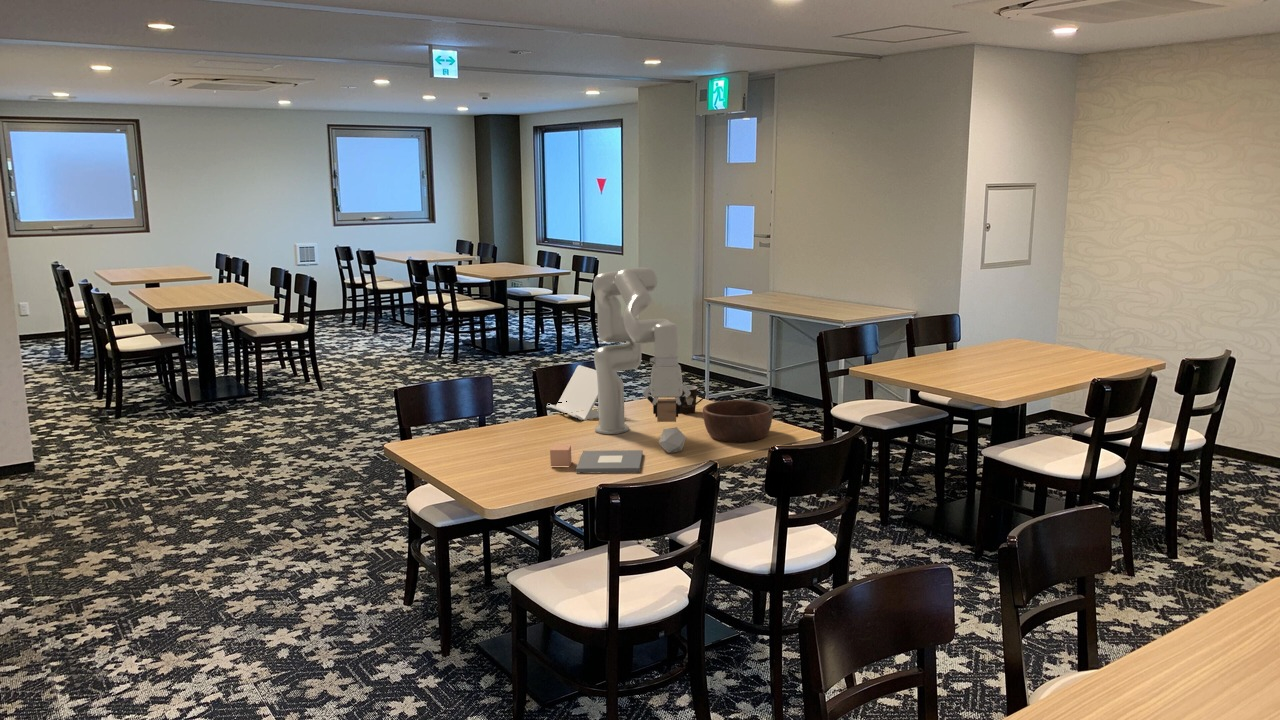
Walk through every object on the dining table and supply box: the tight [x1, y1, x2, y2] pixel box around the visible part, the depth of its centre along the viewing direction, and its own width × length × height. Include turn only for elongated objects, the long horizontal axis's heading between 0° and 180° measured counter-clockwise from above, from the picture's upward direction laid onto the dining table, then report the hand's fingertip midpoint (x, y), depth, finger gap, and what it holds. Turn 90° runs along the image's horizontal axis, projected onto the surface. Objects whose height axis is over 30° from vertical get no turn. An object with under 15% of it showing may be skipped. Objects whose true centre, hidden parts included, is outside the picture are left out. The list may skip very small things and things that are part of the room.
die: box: [658, 426, 687, 454], centre depth 320 cm, size 8×9×10 cm
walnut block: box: [656, 398, 677, 423], centre depth 304 cm, size 6×6×6 cm
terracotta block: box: [549, 444, 573, 467], centre depth 307 cm, size 6×6×6 cm
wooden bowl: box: [702, 399, 774, 443], centre depth 337 cm, size 25×25×10 cm
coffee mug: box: [679, 384, 707, 415], centre depth 372 cm, size 12×9×10 cm
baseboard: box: [575, 449, 644, 474], centre depth 308 cm, size 20×20×2 cm
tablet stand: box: [546, 364, 599, 421], centre depth 377 cm, size 18×25×17 cm
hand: (666, 415), depth 304 cm, fingers closed on walnut block, 6 cm apart
